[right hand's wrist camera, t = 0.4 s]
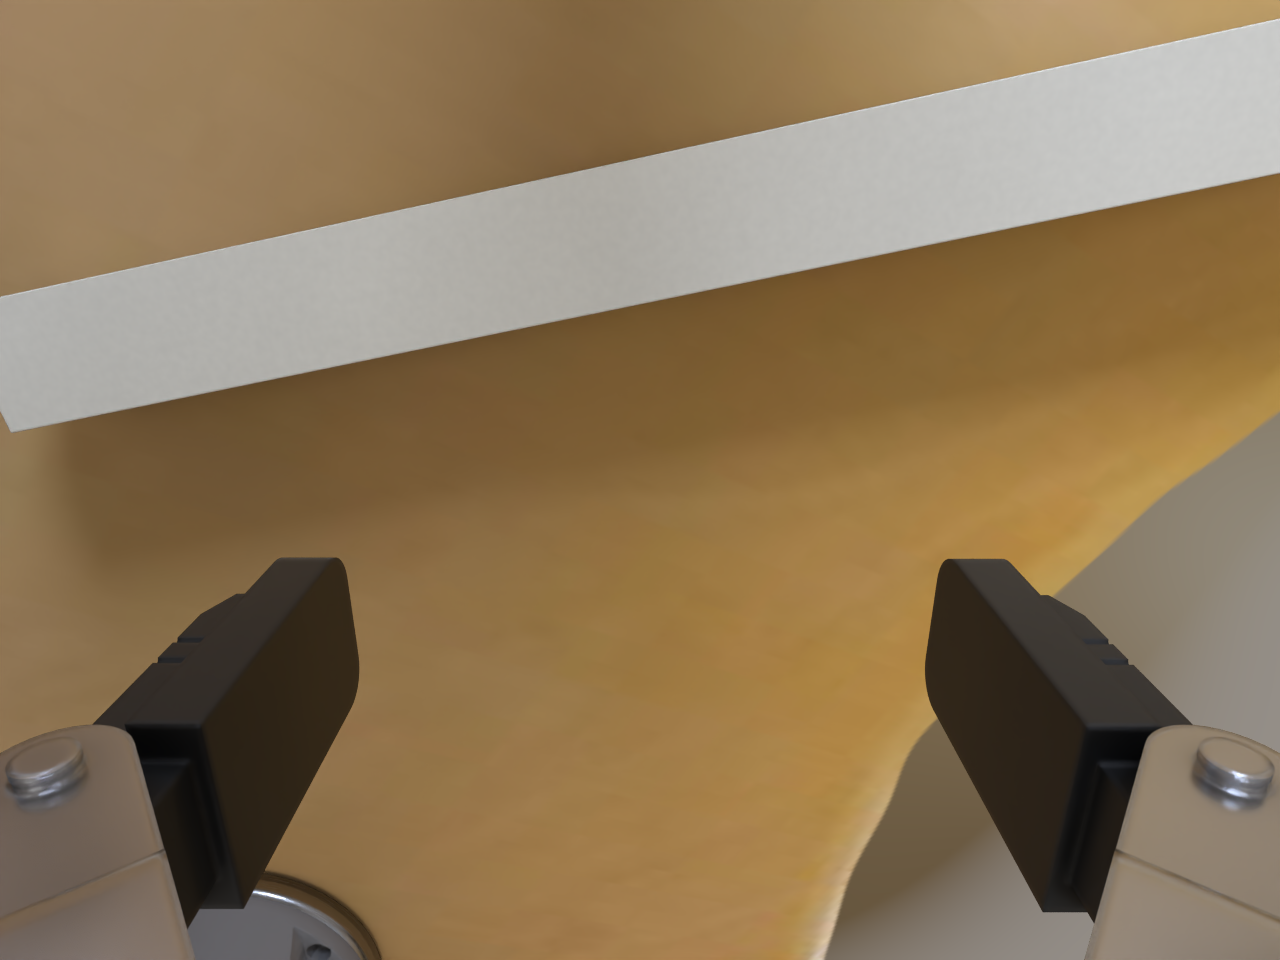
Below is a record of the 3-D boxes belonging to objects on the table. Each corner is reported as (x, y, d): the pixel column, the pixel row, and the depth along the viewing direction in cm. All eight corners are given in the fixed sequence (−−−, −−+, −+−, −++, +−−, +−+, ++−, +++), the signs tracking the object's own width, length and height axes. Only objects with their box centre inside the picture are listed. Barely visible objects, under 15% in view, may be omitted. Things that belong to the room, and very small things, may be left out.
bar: (1547, -37, 32) (1757, -86, 26) (1525, 100, 34) (1717, 84, 28) (62, 286, 37) (-52, 308, 31) (109, 392, 38) (10, 433, 32)
